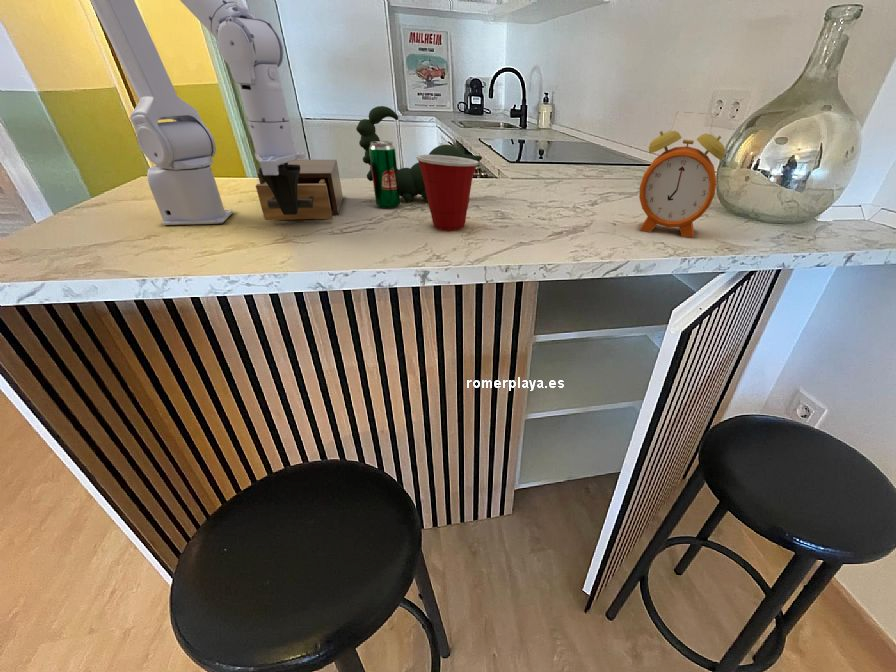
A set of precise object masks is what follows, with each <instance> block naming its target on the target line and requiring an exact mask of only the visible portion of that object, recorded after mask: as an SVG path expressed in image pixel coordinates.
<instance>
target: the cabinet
mask: <svg viewBox="0 0 896 672" xmlns="http://www.w3.org/2000/svg"><path fill="white" fill-rule="evenodd" d="M288 165H300V168H301V169H300V173H299V177H298V178H328V184H329V189H330V195H331V200H332V205H331V211H332V216H339V214H340V210H341V207H342V202H343V197H344V195H343V189H342V183H341V176H340V171H339V166H338V165H339V164H338V160H337V159H296V160H293V161H290V162H288ZM256 174H257V177H258V181H259V184H264V183H265V181H264V179H263V178H262V177H261V176H260V174H259V171H258V172H257V173H256Z"/></svg>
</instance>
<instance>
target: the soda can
mask: <svg viewBox="0 0 896 672" xmlns="http://www.w3.org/2000/svg"><path fill="white" fill-rule="evenodd" d="M370 144H371V145H370V147H369V154H370V162H371V169H372V177H373V181H372V183H373V192H374V199H375V204H376V206H377V207H379V208H380V209H397V208H399V206H400V205H401V196H400V193H399V183H398V173H397V169H398V163H397V154H396V148H395V146H394V145H393V141H388V140H380V141H372V142H370Z"/></svg>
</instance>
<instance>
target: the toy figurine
mask: <svg viewBox="0 0 896 672" xmlns="http://www.w3.org/2000/svg"><path fill="white" fill-rule="evenodd" d="M385 118H392V119H394V120H396V121H398V120H399V116H398V114H397V112H396V111H395V110H393V109H392V108H391V107H388V106H384V105H379V106H375V107H373V108H372V109H371V110H370V111H369V112H368V119H367V118H363V119H361V120H360V121H359V122H358V123H357V126H356V128H355V130H356V132H357V133H358V134H359V136H360V140H359V141H358V143H359V146H360V148H363V150H364V156H363V157H362V162H363V163H364V164H365V165H367V164H368V166H369V170H368V172H367V174H366V178H367V180H368V181H369V182H373V177H372V169H371V162H370V154H369V147H370V145H371V144H370V142H372V141H381V138H380V137H379V135H378V134H377V131H376V126H375V125H377V124H380V123H381V122H382V120H384V119H385ZM428 155H444V156H454V157H462V158H468V159H472V160H476V161H478V162H480V161H482V159H483V156H482V155H473V154H465V153H464V152H463V151H462V150H461V149H460V148H458V147H456V146H455V145H452V144H441V145H438V146H436V147H434V148H433V149H432V150H430V151H429V153H428ZM397 173H398V183H399V193H400V198H402V200H403V201H404V202H405V203H411V202H412V200H413V198H415V197H417V196H418V195H420V196H421V198H422V199H423V200H424V201H428V199H427V194H426V189H425V185H424V180H423V176H422V172H421V169H420V164H419V161H418V162H416V163H414V164H413V165H412V166H411V167H401V168H397Z"/></svg>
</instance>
